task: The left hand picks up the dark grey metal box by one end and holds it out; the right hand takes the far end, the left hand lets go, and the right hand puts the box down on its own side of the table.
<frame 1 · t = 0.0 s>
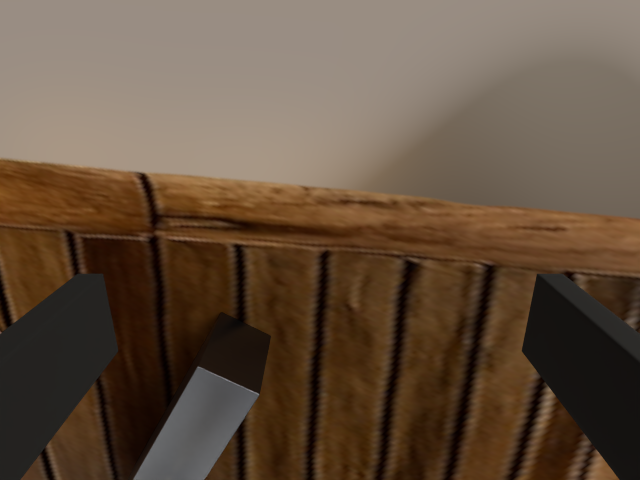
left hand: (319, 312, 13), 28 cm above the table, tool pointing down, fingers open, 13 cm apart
box: (198, 404, 49), on the table
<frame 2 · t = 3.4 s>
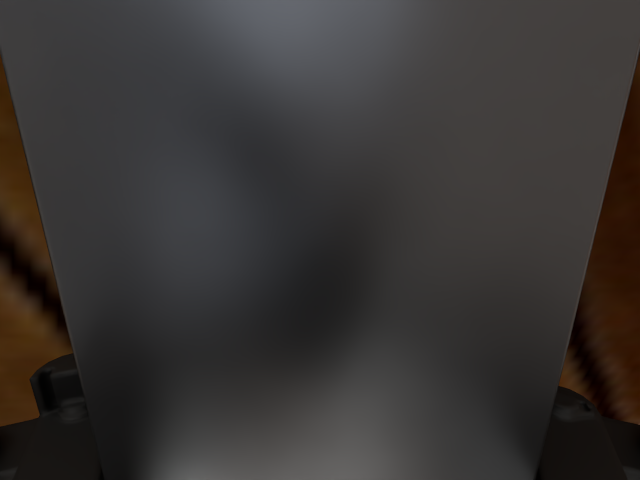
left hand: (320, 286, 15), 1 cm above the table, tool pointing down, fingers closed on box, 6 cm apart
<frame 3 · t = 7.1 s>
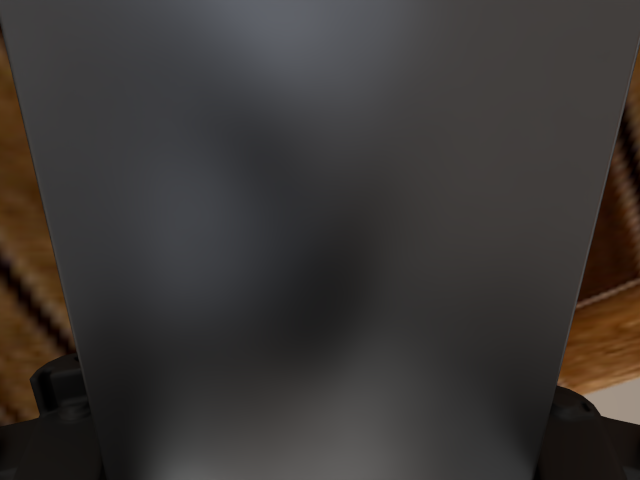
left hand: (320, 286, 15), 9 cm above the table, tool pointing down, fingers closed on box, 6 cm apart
when the left hand's fingers open (9 cm above the table, at t = 8.0 s): box stays where it is, held by the right hand.
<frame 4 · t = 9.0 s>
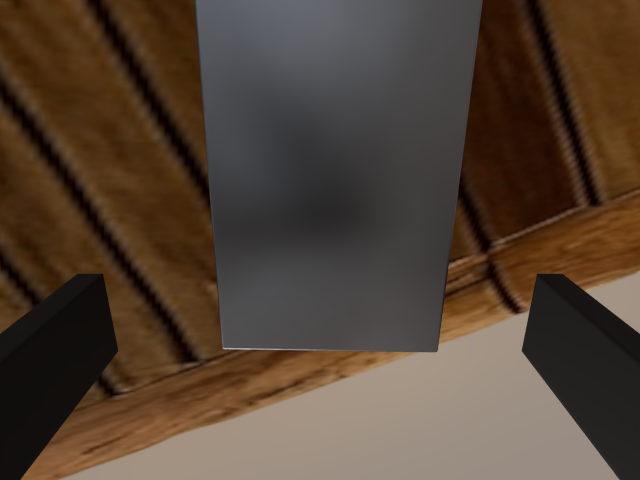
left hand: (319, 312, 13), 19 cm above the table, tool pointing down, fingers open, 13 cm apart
when the right hand's fingers open (7 cm above the table, at t = 15.2 s): box drops 2 cm, on the table.
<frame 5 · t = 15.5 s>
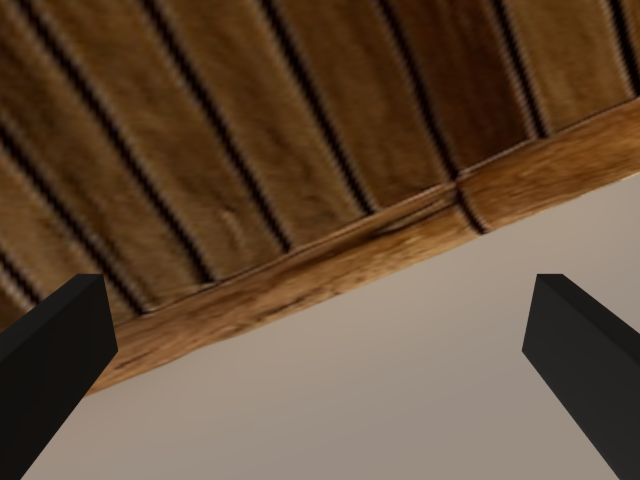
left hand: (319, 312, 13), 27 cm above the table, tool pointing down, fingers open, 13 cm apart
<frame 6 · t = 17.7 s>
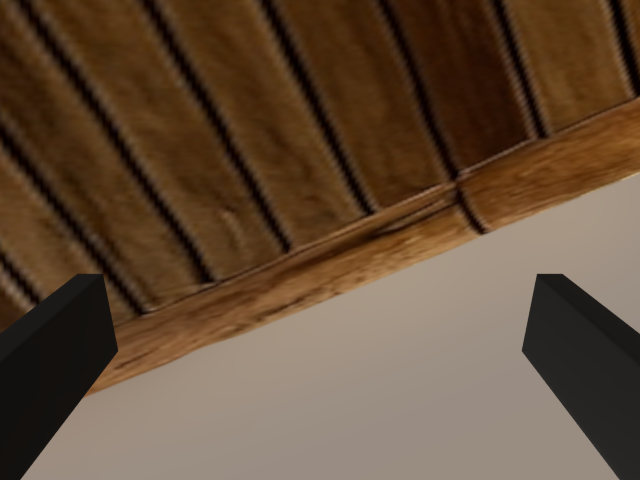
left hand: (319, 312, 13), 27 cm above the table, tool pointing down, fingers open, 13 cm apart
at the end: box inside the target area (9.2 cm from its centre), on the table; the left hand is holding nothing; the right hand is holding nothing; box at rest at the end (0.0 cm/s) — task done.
